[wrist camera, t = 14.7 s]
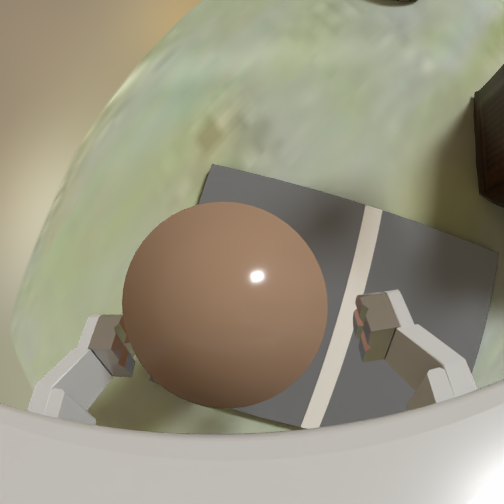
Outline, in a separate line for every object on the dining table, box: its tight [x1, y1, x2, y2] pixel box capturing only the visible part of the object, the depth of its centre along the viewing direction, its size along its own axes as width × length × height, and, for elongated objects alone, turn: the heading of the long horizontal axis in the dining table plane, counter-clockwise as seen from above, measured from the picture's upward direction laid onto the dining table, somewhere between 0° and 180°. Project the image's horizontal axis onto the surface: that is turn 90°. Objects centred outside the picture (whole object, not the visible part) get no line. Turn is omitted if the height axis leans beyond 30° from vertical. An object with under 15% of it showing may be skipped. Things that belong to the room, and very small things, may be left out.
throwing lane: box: [150, 164, 499, 429], centre depth 19 cm, size 22×15×1 cm
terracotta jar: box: [122, 202, 328, 408], centre depth 14 cm, size 5×5×12 cm
